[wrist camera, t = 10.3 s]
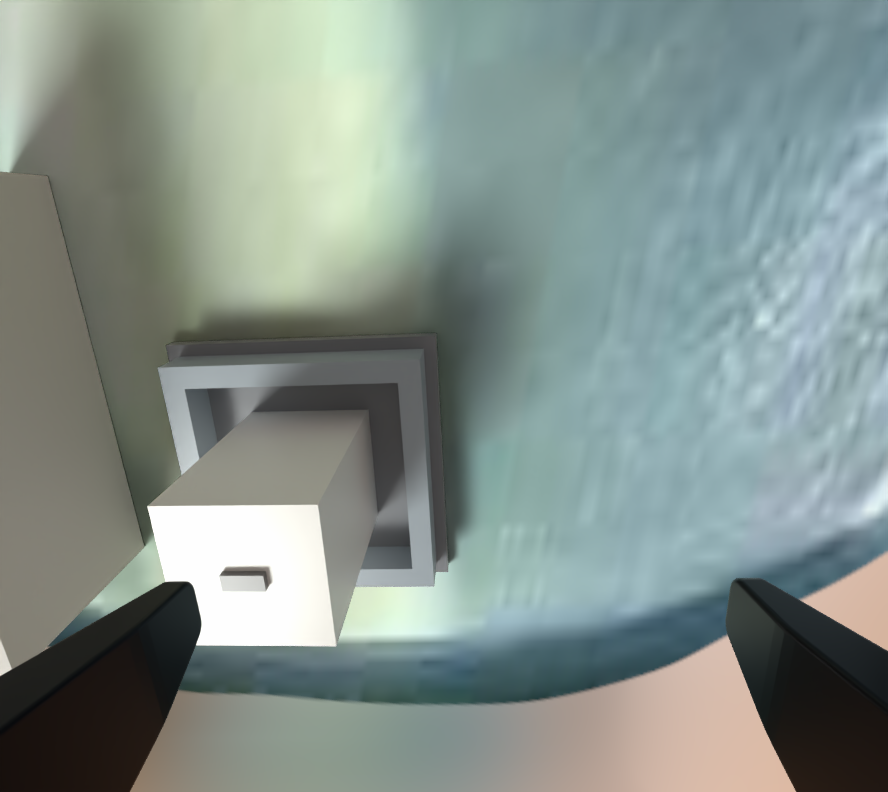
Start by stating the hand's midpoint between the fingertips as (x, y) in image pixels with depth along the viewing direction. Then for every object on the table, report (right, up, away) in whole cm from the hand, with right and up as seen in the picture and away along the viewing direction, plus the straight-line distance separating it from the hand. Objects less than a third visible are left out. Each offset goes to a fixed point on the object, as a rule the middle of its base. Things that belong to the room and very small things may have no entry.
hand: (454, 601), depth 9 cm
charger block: (-5, +1, +12) cm, 13 cm away
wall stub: (-14, +4, +12) cm, 19 cm away
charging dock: (-5, +1, +13) cm, 14 cm away
